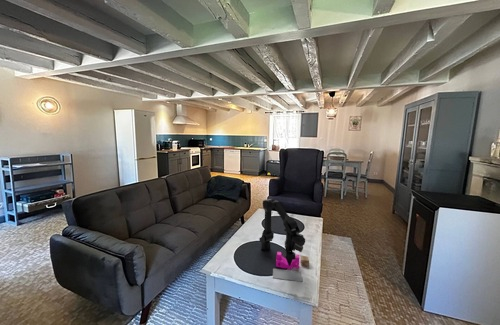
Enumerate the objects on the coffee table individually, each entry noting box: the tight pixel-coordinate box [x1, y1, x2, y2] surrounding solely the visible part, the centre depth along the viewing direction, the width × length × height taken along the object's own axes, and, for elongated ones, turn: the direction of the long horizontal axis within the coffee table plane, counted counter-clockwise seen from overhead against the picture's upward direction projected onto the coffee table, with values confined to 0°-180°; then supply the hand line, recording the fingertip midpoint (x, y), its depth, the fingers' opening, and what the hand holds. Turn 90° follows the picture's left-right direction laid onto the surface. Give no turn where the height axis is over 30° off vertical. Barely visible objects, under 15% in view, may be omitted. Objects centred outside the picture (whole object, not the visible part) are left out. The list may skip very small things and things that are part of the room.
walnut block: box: [300, 255, 310, 267], centre depth 142 cm, size 5×5×4 cm
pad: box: [272, 268, 304, 283], centre depth 130 cm, size 18×9×1 cm, turn 82°
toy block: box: [275, 251, 300, 270], centre depth 139 cm, size 15×6×8 cm, turn 77°
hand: (289, 261), depth 137 cm, fingers open, 9 cm apart
